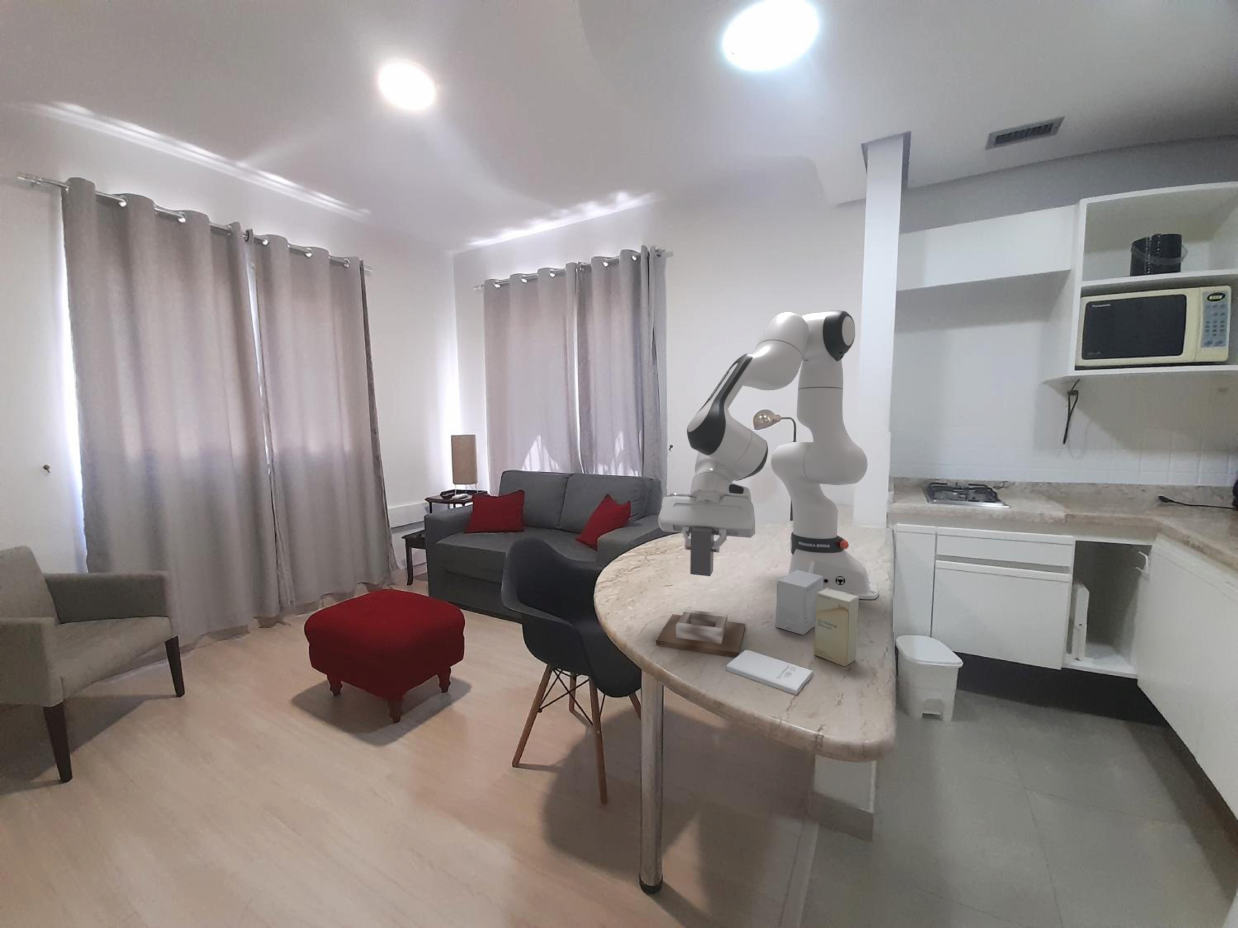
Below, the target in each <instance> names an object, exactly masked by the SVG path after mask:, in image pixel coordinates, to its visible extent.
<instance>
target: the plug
mask: <svg viewBox="0 0 1238 928" xmlns="http://www.w3.org/2000/svg"><path fill="white" fill-rule="evenodd" d="M714 537H715V535H714V528H706V527H694V528H693V529H692V530H691V533H690V539H691V550H690V567H689V569H690V570H689V571H690V572H689V573H690V575H693V576H695V575H696V576H704V577H711V575H712V573H713V572H714V553H715V552H712V550H711V546H712V541H715V539H714Z"/></svg>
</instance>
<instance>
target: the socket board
mask: <svg viewBox="0 0 1238 928" xmlns="http://www.w3.org/2000/svg"><path fill="white" fill-rule="evenodd" d="M745 631H746V623H743V622H737V621H729V620H728V614H727V613H718V612H712V611H702V610H696V609H688V608H687V609H686V608H685V609H684V610H683V613H682V614H674V613H673V614H671V615H670V617H669V619H668V620H667V622H666V623H665V625H664V626H663V628H662V630H661V631H660V633H659V634H658V636H657V638H656V639H655V645H656V646H660V647H666V648H673V649H680V650H685V651H691V652H692V651H693V652H700V653H706V654H712V655H713V654H714V655H719V656H724V657H730V658H731V657H732V658H733V657H734V658H736V657H737V656H738V655H740V654H741V649H742V644H743V639H744V635H745Z"/></svg>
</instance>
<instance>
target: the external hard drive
mask: <svg viewBox="0 0 1238 928" xmlns="http://www.w3.org/2000/svg"><path fill="white" fill-rule="evenodd" d="M725 671H727V672H729V673H733V674H736V675H739V676H742V677H745V678H747V679H750V680H753V681H756V682H758V683H762V684H764V685H767V686H769V687H773V688H775V689H779V690H781V691H784V692H786V693H790V694H792V695H795V696H797V695H798V694H799V693H800V692H801V690H802V689H803V688H804V686H805V685H806V684H807V683H808V682H809V681H810V680H811V679H812V677H813V676H814V670H812V669H809V668H805V667H802V666H799V665H796V664H793V663H790V662H787V661H784V660H780V659H777V658H774V657H771V656H768V655H766V654H761V653H759V652H755V651H752V650H750V649H745V650H743V651H742V652H740V653H739V655H738V656H737V657H734V658H733V659H731V661H730V662H728V663H727V664H726V668H725Z"/></svg>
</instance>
